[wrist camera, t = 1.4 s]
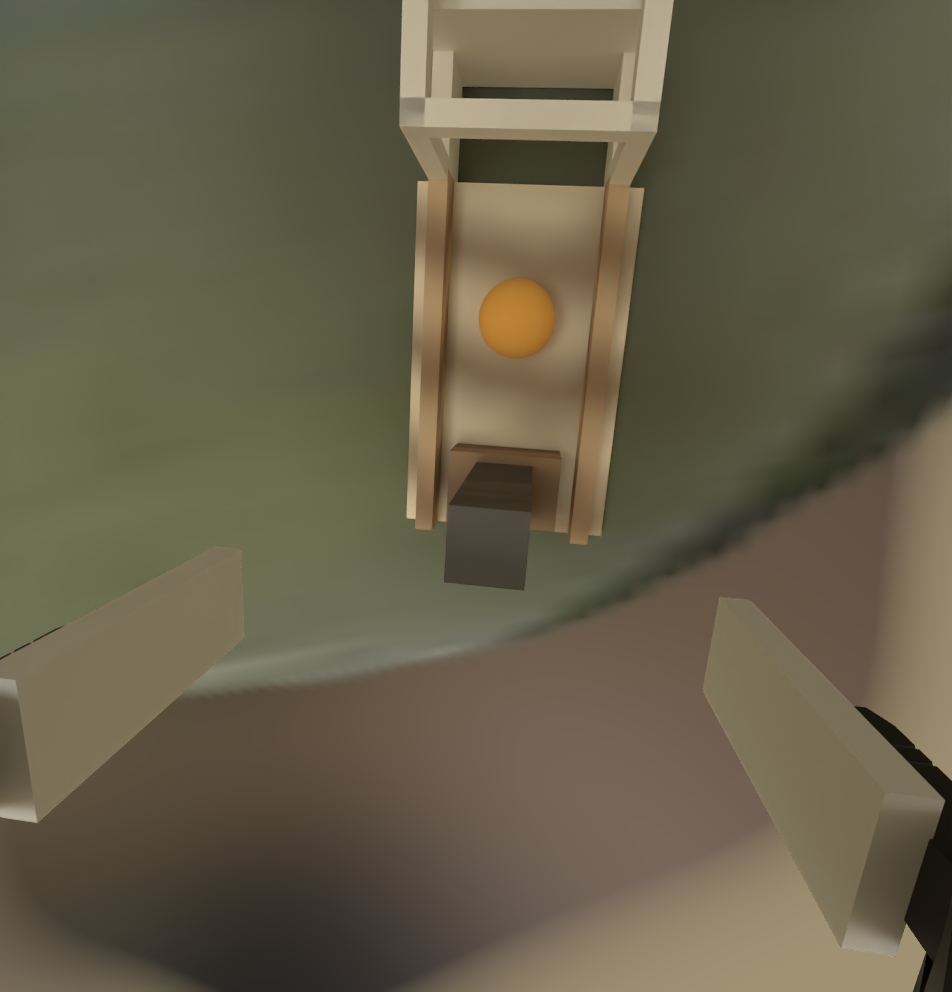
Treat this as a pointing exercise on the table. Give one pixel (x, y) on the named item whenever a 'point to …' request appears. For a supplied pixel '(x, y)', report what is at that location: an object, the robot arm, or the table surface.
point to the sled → (497, 511)
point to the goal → (532, 75)
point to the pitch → (537, 378)
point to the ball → (516, 318)
